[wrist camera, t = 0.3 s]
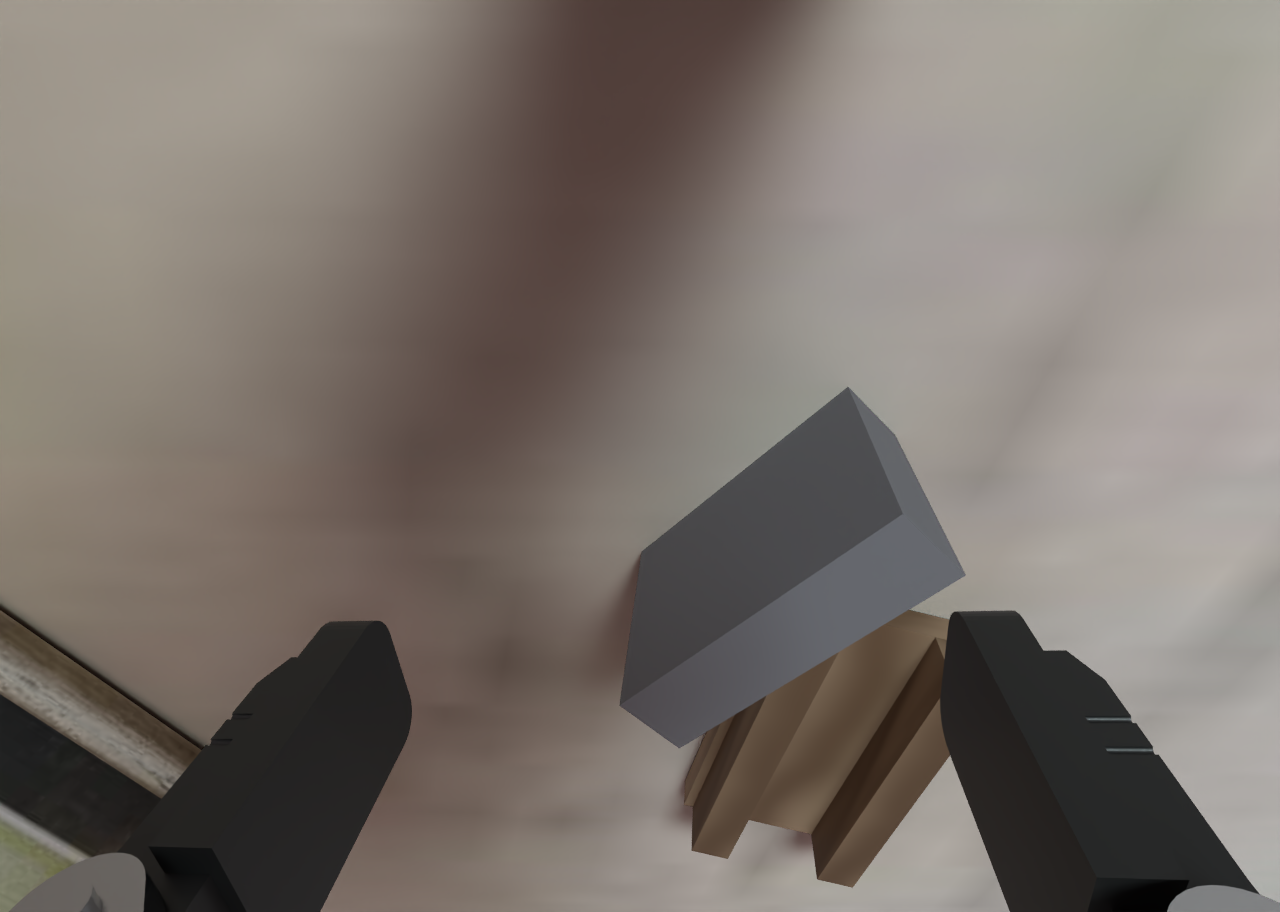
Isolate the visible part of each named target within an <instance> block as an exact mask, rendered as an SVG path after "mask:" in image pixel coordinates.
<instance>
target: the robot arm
mask: <svg viewBox="0 0 1280 912" xmlns="http://www.w3.org/2000/svg"><path fill="white" fill-rule="evenodd" d="M940 713H941V722H942V728H943V733H944V737H945V741H946V745H947V748H948V750H949V753H950V756H951V758H952V761H953V764H954V766H955V769H956V771H957V774H958V777H959V779H960V782H961V785H962V787H963V790H964V792H965V795H966V798H967V800H968V803H969V806H970V808H971V811H972V813H973V816H974V819H975V821H976V824H977V827H978V829H979V832H980V834H981V837H982V840H983V842H984V845H985V848H986V850H987V853H988V855H989V858H990V861H991V863H992V866H993V869H994V871H995V874H996V876H997V879H998V882H999V884H1000V887H1001V890H1002V892H1003V895H1004V897H1005V900H1006V903H1007V905H1008V908H1009V911H1010V912H1280V903H1279V902H1276V901H1274V900H1272V899H1269V898H1267V897H1265V896H1262V895H1260V894H1259V893H1258V892H1257V890H1256V889H1255V888H1254V887H1253V885H1252V884H1251V883H1250V882H1249V880H1248V879H1247V877H1246V876H1245V875H1244V873H1243V872H1242V870H1241V869H1240V868H1239V866H1238V865H1237V864H1236V862H1235V861H1234V859H1233V858H1232V857H1231V855H1230V854H1229V852H1228V851H1227V850H1226V848H1225V847H1224V845H1223V844H1222V843H1221V841H1220V840H1219V838H1218V837H1217V836H1216V834H1215V833H1214V831H1213V830H1212V829H1211V827H1210V826H1209V824H1208V823H1207V822H1206V820H1205V819H1204V817H1203V816H1202V815H1201V813H1200V812H1199V810H1198V809H1197V808H1196V806H1195V805H1194V803H1193V802H1192V801H1191V799H1190V798H1189V796H1188V795H1187V794H1186V792H1185V791H1184V789H1183V788H1182V787H1181V785H1180V784H1179V782H1178V781H1177V780H1176V778H1175V777H1174V776H1173V774H1172V773H1171V771H1170V770H1169V769H1168V767H1167V766H1166V764H1165V763H1164V762H1163V760H1162V759H1161V757H1160V756H1159V755H1155V754H1154V752H1153V746H1152V745H1151V743H1150V742H1149V741H1148V739H1147V738H1146V736H1145V735H1144V734H1143V732H1142V731H1141V729H1140V728H1139V727H1138V725H1137V724H1136V723H1132V721H1131V715H1130V714H1129V713H1128V711H1127V710H1126V708H1125V707H1124V706H1123V704H1122V703H1121V701H1120V700H1119V699H1118V697H1117V696H1116V694H1115V693H1114V692H1113V690H1112V689H1111V687H1110V686H1109V685H1108V683H1107V682H1106V681H1105V680H1104V679H1103V678H1102V677H1100V676H1099V675H1098V674H1096V673H1095V672H1094V671H1093V670H1091V669H1090V668H1089V667H1087V666H1086V665H1085V664H1083V663H1082V662H1081V661H1079V660H1078V659H1077V658H1075V657H1074V656H1073V655H1071V654H1070V653H1069V652H1067V651H1043V649H1042V648H1041V646H1040V645H1039V643H1038V641H1037V640H1036V638H1035V637H1034V635H1033V634H1032V632H1031V630H1030V629H1029V627H1028V626H1027V624H1026V623H1025V621H1024V620H1023V618H1022V617H1021V615H1020V614H1018V613H1017V612H1016V611H963V612H953V613H952V615H951V617H950V620H949V625H948V633H947V641H946V650H945V659H944V668H943V677H942V686H941V695H940ZM411 717H412V706H411V699H410V695H409V692H408V689H407V685H406V682H405V679H404V676H403V673H402V670H401V667H400V664H399V660H398V657H397V654H396V651H395V648H394V645H393V642H392V639H391V635H390V633H389V630H388V628H387V626H386V625H385V624H384V623H383V622H381V621H338V622H329V623H327V624H325V625H324V626H323V627H322V628H321V629H320V630H319V631H318V632H317V634H316V635H315V636H314V637H313V639H312V640H311V641H310V642H309V644H308V645H307V646H306V648H305V649H304V650H303V651H302V653H301V654H300V655H299V656H298V657H291V658H290V659H289V660H287V661H286V662H285V663H283V664H282V665H281V666H279V667H278V668H277V669H275V670H274V671H273V672H271V673H270V674H269V675H267V676H266V677H265V678H264V679H262V680H261V681H260V682H258V683H257V684H256V685H255V686H254V688H253V689H252V690H251V691H250V693H249V694H248V695H247V696H246V697H245V699H244V700H243V701H242V702H241V703H240V705H239V706H238V707H237V708H236V709H235V711H234V712H233V713H232V719H231V720H226V722H225V723H224V724H223V725H222V726H221V728H220V729H219V730H218V731H217V732H216V734H215V735H214V736H213V737H212V738H211V744H210V746H205V747H204V748H203V749H202V751H201V752H200V753H199V754H198V755H197V757H196V758H195V759H194V760H193V761H192V763H191V764H190V765H189V766H188V767H187V769H186V770H185V771H184V772H183V773H182V775H181V776H180V777H179V778H178V780H177V781H176V782H175V783H174V784H173V786H172V787H171V788H170V789H169V790H168V792H167V793H166V794H165V795H164V796H163V798H162V799H161V800H160V801H159V803H158V804H157V805H156V806H155V807H154V809H153V810H152V811H151V812H150V813H149V815H148V816H147V817H146V818H145V819H144V821H143V822H142V823H141V824H140V825H139V827H138V828H137V829H136V830H135V832H134V833H133V834H132V835H131V836H130V838H129V839H128V840H127V841H126V842H125V844H124V845H123V846H122V847H121V848H120V849H119V850H118V851H117V853H108V854H102V855H98V856H94V857H91V858H88V859H85V860H83V861H80V862H78V863H76V864H73V865H72V866H70V867H68V868H66V869H64V870H62V871H60V872H58V873H57V874H55V875H54V876H52V877H50V878H49V879H47V880H46V881H44V882H43V883H42V884H40V885H39V886H37V887H36V888H35V889H33V890H32V891H31V892H30V893H29V894H27V895H26V896H25V897H24V898H23V899H21V900H20V901H19V902H18V903H17V904H16V905H15V906H14V907H13V908H12V909H11V910H10V911H9V912H320V911H321V909H322V907H323V905H324V903H325V901H326V899H327V897H328V895H329V893H330V891H331V889H332V887H333V885H334V883H335V881H336V879H337V877H338V875H339V873H340V871H341V869H342V867H343V865H344V863H345V861H346V859H347V857H348V855H349V853H350V851H351V849H352V847H353V845H354V843H355V841H356V839H357V837H358V835H359V833H360V831H361V829H362V827H363V825H364V824H365V822H366V820H367V818H368V816H369V814H370V812H371V810H372V808H373V806H374V804H375V802H376V800H377V798H378V796H379V794H380V792H381V790H382V788H383V786H384V784H385V782H386V780H387V778H388V776H389V774H390V772H391V770H392V768H393V766H394V764H395V762H396V760H397V758H398V756H399V754H400V752H401V750H402V748H403V746H404V744H405V742H406V740H407V737H408V734H409V730H410V725H411Z"/></svg>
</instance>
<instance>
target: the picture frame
mask: <svg viewBox="0 0 1280 912" xmlns="http://www.w3.org/2000/svg"><path fill="white" fill-rule="evenodd" d="M201 751H202V750H200V749H199V748H197V747H196V746H195V745H193V744H192V743H190V742H189V741H187V740H186V739H185V738H183V737H182V736H180V735H179V734H177V733H176V732H174V731H173V730H172V729H170V728H169V727H167V726H166V725H164V724H163V723H162V722H160V721H159V720H157V719H156V718H154V717H153V716H151V715H150V714H149V713H147V712H146V711H144V710H143V709H141V708H140V707H139V706H137V705H136V704H134V703H133V702H131V701H130V700H128V699H127V698H126V697H124V696H123V695H121V694H120V693H118V692H117V691H116V690H114V689H113V688H111V687H110V686H108V685H107V684H105V683H104V682H103V681H101V680H100V679H98V678H97V677H95V676H94V675H93V674H91V673H90V672H88V671H87V670H85V669H84V668H82V667H81V666H80V665H78V664H77V663H75V662H74V661H72V660H71V659H70V658H68V657H67V656H65V655H64V654H62V653H61V652H59V651H58V650H57V649H55V648H54V647H52V646H51V645H49V644H48V643H47V642H45V641H44V640H42V639H41V638H39V637H38V636H36V635H35V634H34V633H32V632H31V631H29V630H28V629H26V628H25V627H24V626H22V625H21V624H19V623H18V622H16V621H15V620H13V619H12V618H11V617H9V616H8V615H6V614H5V613H3V612H2V611H0V912H9V911H10V910H11V909H12V908H13V907H14V906H15V905H16V904H17V903H18V902H19V901H20V900H21V899H23V898H24V897H25V896H26V895H27V894H29V893H30V892H31V891H32V890H33V889H35V888H36V887H37V886H39V885H40V884H42V883H43V882H44V881H46V880H47V879H49V878H50V877H52V876H54V875H55V874H57V873H58V872H60V871H62V870H64V869H66V868H68V867H70V866H72V865H73V864H76V863H78V862H80V861H83V860H85V859H88V858H91V857H94V856H98V855H102V854H108V853H117V851H118V850H119V849H120V848H121V847H122V846H123V845H124V844H125V842H126V841H127V840H128V839H129V838H130V836H131V835H132V834H133V833H134V832H135V830H136V829H137V828H138V827H139V825H140V824H141V823H142V822H143V821H144V819H145V818H146V817H147V816H148V815H149V813H150V812H151V811H152V810H153V809H154V807H155V806H156V805H157V804H158V803H159V801H160V800H161V799H162V798H163V796H164V795H165V794H166V793H167V792H168V790H169V789H170V788H171V787H172V786H173V784H174V783H175V782H176V781H177V780H178V778H179V777H180V776H181V775H182V773H183V772H184V771H185V770H186V769H187V767H188V766H189V765H190V764H191V763H192V761H193V760H194V759H195V758H196V757H197V755H198V754H199V753H200V752H201Z"/></svg>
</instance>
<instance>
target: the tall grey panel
mask: <svg viewBox="0 0 1280 912" xmlns="http://www.w3.org/2000/svg"><path fill="white" fill-rule="evenodd" d="M964 576H965V573H964V571H963V569H962V567H961V565H960V563H959V561H958V559H957V557H956V555H955V553H954V551H953V549H952V547H951V545H950V543H949V541H948V539H947V537H946V535H945V533H944V531H943V529H942V527H941V525H940V523H939V521H938V519H937V517H936V515H935V513H934V511H933V509H932V507H931V505H930V503H929V501H928V499H927V497H926V495H925V493H924V491H923V489H922V487H921V485H920V483H919V481H918V479H917V477H916V475H915V473H914V472H913V470H912V468H911V466H910V464H909V462H908V460H907V458H906V456H905V454H904V452H903V450H902V448H901V446H900V444H899V442H898V440H897V438H896V436H895V434H894V433H893V432H892V431H891V430H890V429H889V428H888V427H887V426H886V425H885V424H884V423H883V422H882V421H881V420H880V419H879V418H878V417H877V416H876V415H875V414H874V413H873V412H872V411H871V410H870V409H869V408H868V407H867V406H866V405H865V404H864V403H863V402H862V401H861V400H860V398H859V397H858V396H857V395H856V394H855V393H854V392H853V391H852V390H851V389H850V388H849V387H847V388H846V389H845V390H844V391H842V392H841V393H840V394H839V395H837V396H836V397H835V398H833V399H832V400H831V401H830V402H828V403H827V404H826V405H825V406H823V407H822V408H821V409H820V410H818V411H817V412H816V413H815V414H813V415H812V416H811V417H810V418H808V419H807V420H806V421H805V422H803V423H802V424H801V425H800V426H798V427H797V428H796V429H795V430H793V431H792V432H791V433H790V434H788V435H787V436H786V437H785V438H783V439H782V440H781V441H780V442H778V443H777V444H776V445H775V446H773V447H772V448H771V449H770V450H768V451H767V452H766V453H765V454H763V455H762V456H761V457H760V458H758V459H757V460H756V461H755V462H753V463H752V464H751V465H750V466H748V467H747V468H746V469H745V470H743V471H742V472H741V473H740V474H738V475H737V476H736V477H735V478H733V479H732V480H731V481H730V482H728V483H727V484H726V485H725V486H723V487H722V488H721V489H720V490H718V491H717V492H716V493H715V494H713V495H712V496H711V497H710V498H708V499H707V500H706V501H705V502H703V503H702V504H701V505H700V506H698V507H697V508H696V509H695V510H693V511H692V512H691V513H690V514H688V515H687V516H686V517H684V518H683V519H682V520H681V521H679V522H678V523H677V524H676V525H674V526H673V527H672V528H671V529H669V530H668V531H667V532H666V533H664V534H663V535H662V536H661V537H659V538H658V539H657V540H656V541H654V542H653V543H652V544H651V545H649V546H648V547H647V548H646V549H644V550H643V551H642V553H641V560H640V567H639V574H638V581H637V588H636V595H635V602H634V608H633V615H632V622H631V629H630V636H629V643H628V650H627V657H626V664H625V671H624V677H623V684H622V691H621V698H620V705H619V706H621V707H622V708H624V709H625V710H626V711H628V712H629V713H631V714H632V715H633V716H635V717H636V718H638V719H639V720H640V721H642V722H643V723H645V724H646V725H647V726H649V727H650V728H652V729H653V730H654V731H656V732H657V733H659V734H660V735H661V736H663V737H664V738H666V739H667V740H668V741H670V742H671V743H673V744H674V745H675V746H677V747H678V748H681V747H682V746H684V745H686V744H687V743H689V742H691V741H692V740H694V739H696V738H697V737H699V736H700V735H702V734H704V733H705V732H707V731H709V730H710V729H712V728H714V727H715V726H717V725H719V724H720V723H722V722H724V721H725V720H727V719H729V718H730V717H732V716H734V715H735V714H737V713H739V712H740V711H742V710H744V709H745V708H747V707H748V706H750V705H752V704H753V703H755V702H757V701H758V700H760V699H762V698H763V697H765V696H767V695H768V694H770V693H772V692H773V691H775V690H777V689H778V688H780V687H782V686H783V685H785V684H787V683H788V682H790V681H792V680H793V679H795V678H796V677H798V676H800V675H801V674H803V673H805V672H806V671H808V670H810V669H811V668H813V667H815V666H816V665H818V664H820V663H821V662H823V661H825V660H826V659H828V658H830V657H831V656H833V655H835V654H836V653H838V652H840V651H841V650H843V649H844V648H846V647H848V646H849V645H851V644H853V643H854V642H856V641H858V640H859V639H861V638H863V637H864V636H866V635H868V634H869V633H871V632H873V631H874V630H876V629H878V628H879V627H881V626H883V625H884V624H886V623H888V622H889V621H891V620H892V619H894V618H896V617H897V616H899V615H901V614H902V613H904V612H906V611H907V610H909V609H911V608H912V607H914V606H916V605H917V604H919V603H921V602H922V601H924V600H926V599H927V598H929V597H931V596H932V595H934V594H936V593H937V592H939V591H940V590H942V589H944V588H945V587H947V586H949V585H950V584H952V583H954V582H955V581H957V580H959V579H960V578H962V577H964Z"/></svg>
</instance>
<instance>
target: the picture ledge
mask: <svg viewBox="0 0 1280 912" xmlns="http://www.w3.org/2000/svg"><path fill="white" fill-rule="evenodd" d="M948 625H949V620H948V619H944V618H940V617H936V616H932V615H928V614H923V613H919V612H915V611H911V610H907V611H906V612H904V613H902V614H901V615H899V616H897V617H896V618H894V619H892V620H891V621H889V622H888V623H886V624H884V625H883V626H881V627H879V628H878V629H876V630H874V631H873V632H871V633H869V634H868V635H866V636H864V637H863V638H861V639H859V640H858V641H856V642H854V643H853V644H851V645H849V646H848V647H846V648H844V649H843V650H841V651H840V652H838V653H836V654H835V655H833V656H831V657H830V658H828V659H826V660H825V661H823V662H821V663H820V664H818V665H816V666H815V667H813V668H811V669H810V670H808V671H806V672H805V673H803V674H801V675H800V676H798V677H796V678H795V679H793V680H792V681H790V682H788V683H787V684H785V685H783V686H782V687H780V688H778V689H777V690H775V691H773V692H772V693H770V694H768V695H767V696H765V697H763V698H762V699H760V700H758V701H757V702H755V703H753V704H752V705H750V706H748V707H747V708H745V709H744V710H742V711H740V712H739V713H737V714H735V715H734V716H732V717H730V718H729V719H727V720H725V721H724V722H722V723H720V724H719V725H717V726H715V727H714V728H712V729H710V730H709V731H707V732H706V734H705V736H704V739H703V741H702V743H701V746H700V748H699V750H698V753H697V755H696V757H695V759H694V762H693V764H692V766H691V769H690V771H689V773H688V776H687V778H686V780H685V799H684V805H687V806H691V807H693V819H692V851H696V852H700V853H704V854H709V855H713V856H718V857H722V858H726V859H728V857H729V856H730V854H731V852H732V850H733V848H734V846H735V844H736V843H737V841H738V839H739V837H740V835H741V833H742V831H743V830H744V828H745V826H746V824H747V822H748V820H752V821H756V822H761V823H765V824H769V825H773V826H778V827H782V828H786V829H791V830H795V831H799V832H804V833H808V834H811V836H812V844H813V851H814V859H815V867H816V874H817V879H818V880H822V881H827V882H831V883H835V884H840V885H844V886H848V887H853V886H854V885H855V884H856V882H857V881H858V880H859V878H860V877H861V875H862V874H863V873H864V871H865V870H866V869H867V867H868V866H869V865H870V863H871V862H872V861H873V859H874V858H875V856H876V855H877V854H878V852H879V851H880V850H881V848H882V847H883V846H884V844H885V843H886V841H887V840H888V839H889V837H890V836H891V835H892V833H893V832H894V831H895V829H896V828H897V827H898V825H899V824H900V822H901V821H902V820H903V818H904V817H905V816H906V814H907V813H908V812H909V810H910V809H911V808H912V806H913V805H914V803H915V802H916V801H917V799H918V798H919V797H920V795H921V794H922V793H923V791H924V790H925V788H926V787H927V786H928V784H929V783H930V782H931V780H932V779H933V778H934V776H935V775H936V774H937V772H938V771H939V769H940V768H941V767H942V765H943V764H944V763H945V761H946V760H947V759H948V757H949V756H950V753H949V750H948V748H947V745H946V741H945V737H944V733H943V728H942V722H941V713H940V695H941V686H942V677H943V668H944V659H945V650H946V641H947V633H948Z"/></svg>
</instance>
